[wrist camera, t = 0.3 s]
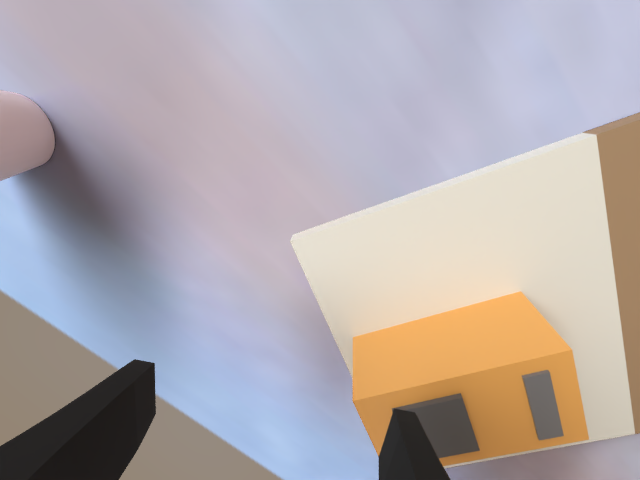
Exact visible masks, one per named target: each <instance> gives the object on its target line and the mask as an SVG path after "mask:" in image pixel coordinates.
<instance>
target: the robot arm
mask: <svg viewBox="0 0 640 480" xmlns="http://www.w3.org/2000/svg"><path fill="white" fill-rule="evenodd" d="M155 414H156V406H155V365H154V363H151V362H146V361H140V360H133V361H131V362H130V363H128V364H127V365H125V366H124V367H122V368H121V369H119V370H118V371H117V372H115V373H114V374H112V375H111V376H109V377H108V378H106V379H105V380H103V381H102V382H100V383H99V384H98V385H96V386H95V387H93V388H92V389H90V390H89V391H87V392H86V393H85V394H83V395H81V396H80V397H78V398H77V399H75V400H74V401H72V402H71V403H69V404H68V405H66V406H65V407H63V408H62V409H60V410H59V411H57V412H56V413H54V414H52V415H51V416H50V417H48V418H46V419H44V420H43V421H41V422H40V423H38V424H36V425H35V426H33V427H31V428H30V429H28V430H26V431H25V432H23V433H22V434H20V435H19V436H17V437H15V438H13V439H12V440H10V441H8V442H7V443H5V444H3V445H1V446H0V480H119V478H120V477H121V475H122V473H123V472H124V470H125V469H126V467H127V466H128V464H129V463H130V461H131V459H132V458H133V456H134V455H135V453H136V451H137V450H138V448H139V446H140V444H141V442H142V440H143V438H144V436H145V434H146V432H147V430H148V428H149V426H150V424H151V422H152V420H153V418H154V416H155ZM379 480H450V478H449V476H448V475H447V473H446V471H445V469H444V467H443V465H442V464H441V462H440V460H439V458H438V456H437V454H436V452H435V450H434V448H433V446H432V444H431V442H430V441H429V439H428V437H427V435H426V433H425V431H424V429H423V426H422V424H421V422H420V420H419V418H418V416H417V415H416V413H415V412H411V411H405V410H400V409H395V408H394V410H393V413H392V417H391V420H390V423H389V426H388V429H387V432H386V436H385V439H384V442H383V445H382V448H381V451H380V455H379Z"/></svg>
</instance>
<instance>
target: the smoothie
mask: <svg viewBox="0 0 640 480" xmlns="http://www.w3.org/2000/svg"><path fill="white" fill-rule="evenodd" d="M54 147H55V136H54V131H53V128H52V125H51V123H50V121H49V119H48V118H47V116H46V114H45V113H44V112H43V111H42V109H41V108H40V107H39V106H38V105H37V104H36V103H34V102H33V101H32V100H30V99H29V98H27V97H25V96H23V95H21V94H18V93H14V92H8V91H2V90H0V181H2V180H5V179H7V178H10V177H12V176H15V175H17V174H20V173H23V172H25V171H28V170H30V169H33V168H36V167H38V166H41V165H43V164H44V163H46V162H47V161H48V160H49V159H50V158H51V156H52V154H53V151H54Z"/></svg>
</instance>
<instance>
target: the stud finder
mask: <svg viewBox="0 0 640 480" xmlns="http://www.w3.org/2000/svg"><path fill="white" fill-rule="evenodd" d="M353 403H354V405H355V407H356V409H357V411H358V413H359V416H360V418H361V420H362V422H363V424H364V426H365V428H366V431H367V433H368V435H369V437H370V439H371V441H372V443H373V445H374V448H375V450H376V452H377V454H378V456H379V455H380V451H381V448H382V445H383V442H384V439H385V436H386V432H387V429H388V426H389V423H390V420H391V417H392V413H393V410H394V408H395V409H400V410H405V411H411V412H415V413H416V415H417V416H418V418H419V420H420V422H421V424H422V426H423V429H424V431H425V433H426V435H427V437H428V439H429V441H430V442H431V444H432V446H433V448H434V450H435V452H436V454H437V456H438V458H439V460H440V462H441V464H442V465H443V466H447V465H453V464H458V463H464V462H469V461H475V460H480V459H486V458H491V457H497V456H502V455H508V454H513V453H518V452H524V451H529V450H535V449H540V448H546V447H551V446H557V445H562V444H568V443H573V442H579V441H584V440H589V436H588V431H587V425H586V420H585V415H584V409H583V404H582V399H581V394H580V388H579V383H578V378H577V372H576V367H575V362H574V356H573V351H572V349H571V348H570V347H569V345H568V344H567V343H566V342H565V341H564V340H563V339H562V337H561V336H560V335H559V334H558V333H557V332H556V331H555V329H554V328H553V327H552V326H551V325H550V324H549V323H548V322H547V320H546V319H545V318H544V317H543V316H542V315H541V314H540V312H539V311H538V310H537V309H536V308H535V307H534V306H533V304H532V303H531V302H530V301H529V300H528V299H527V298H526V296H525V295H524V294H523V293H522V292H521V291H520V292H516V293H513V294H509V295H505V296H502V297H498V298H494V299H491V300H487V301H483V302H480V303H476V304H472V305H469V306H465V307H461V308H458V309H454V310H451V311H447V312H443V313H440V314H436V315H432V316H429V317H425V318H421V319H418V320H414V321H410V322H407V323H403V324H399V325H396V326H392V327H389V328H385V329H381V330H378V331H374V332H370V333H367V334H363V335H359V336H356V337H353Z"/></svg>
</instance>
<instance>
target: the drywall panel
mask: <svg viewBox="0 0 640 480" xmlns="http://www.w3.org/2000/svg"><path fill="white" fill-rule="evenodd" d="M290 242H291V245H292V247H293V249H294V251H295V253H296V256H297V258H298V260H299V262H300V264H301V266H302V269H303V271H304V273H305V275H306V277H307V280H308V282H309V284H310V286H311V288H312V291H313V293H314V295H315V297H316V299H317V302H318V304H319V306H320V308H321V310H322V313H323V315H324V317H325V319H326V321H327V324H328V326H329V328H330V330H331V332H332V335H333V337H334V339H335V341H336V343H337V345H338V348H339V350H340V352H341V354H342V356H343V359H344V361H345V363H346V365H347V367H348V370H349V372H350V374H351V376H352V378H353V337H356V336H359V335H363V334H367V333H370V332H374V331H378V330H381V329H385V328H389V327H392V326H396V325H399V324H403V323H407V322H410V321H414V320H418V319H421V318H425V317H429V316H432V315H436V314H440V313H443V312H447V311H451V310H454V309H458V308H461V307H465V306H469V305H472V304H476V303H480V302H483V301H487V300H491V299H494V298H498V297H502V296H505V295H509V294H513V293H516V292H520V291H521V292H522V293H523V294H524V295H525V296H526V298H527V299H528V300H529V301H530V302H531V303H532V304H533V306H534V307H535V308H536V309H537V310H538V311H539V312H540V314H541V315H542V316H543V317H544V318H545V319H546V320H547V322H548V323H549V324H550V325H551V326H552V327H553V328H554V329H555V331H556V332H557V333H558V334H559V335H560V336H561V337H562V339H563V340H564V341H565V342H566V343H567V344H568V345H569V347H570V348H571V349H572V351H573V356H574V362H575V367H576V372H577V378H578V383H579V388H580V394H581V399H582V404H583V409H584V415H585V420H586V425H587V431H588V436H589V440H584V441H579V442H573V443H568V444H562V445H557V446H551V447H546V448H540V449H535V450H529V451H524V452H518V453H513V454H508V455H502V456H497V457H491V458H486V459H480V460H475V461H469V462H464V463H458V464H453V465H447V466H443V467H444V468H450V467H455V466H461V465H466V464H472V463H478V462H483V461H489V460H494V459H500V458H505V457H511V456H516V455H522V454H527V453H533V452H538V451H544V450H549V449H555V448H560V447H566V446H572V445H577V444H583V443H588V442H594V441H599V440H605V439H610V438H616V437H621V436H627V435H632V434H638V433H640V112H639V113H637V114H634V115H631V116H628V117H625V118H622V119H620V120H617V121H614V122H611V123H608V124H605V125H603V126H600V127H597V128H594V129H591V130H588V131H585V132H583V133H580V134H577V135H574V136H571V137H568V138H566V139H563V140H560V141H557V142H554V143H551V144H549V145H546V146H543V147H540V148H537V149H534V150H532V151H529V152H526V153H523V154H520V155H517V156H515V157H512V158H509V159H506V160H503V161H500V162H497V163H495V164H492V165H489V166H486V167H483V168H480V169H478V170H475V171H472V172H469V173H466V174H463V175H461V176H458V177H455V178H452V179H449V180H446V181H444V182H441V183H438V184H435V185H432V186H429V187H427V188H424V189H421V190H418V191H415V192H412V193H410V194H407V195H404V196H401V197H398V198H395V199H392V200H390V201H387V202H384V203H381V204H378V205H375V206H373V207H370V208H367V209H364V210H361V211H358V212H356V213H353V214H350V215H347V216H344V217H341V218H339V219H336V220H333V221H330V222H327V223H324V224H322V225H319V226H316V227H313V228H310V229H307V230H304V231H302V232H299V233H296V234H293V236H292V238H291V241H290Z"/></svg>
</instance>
